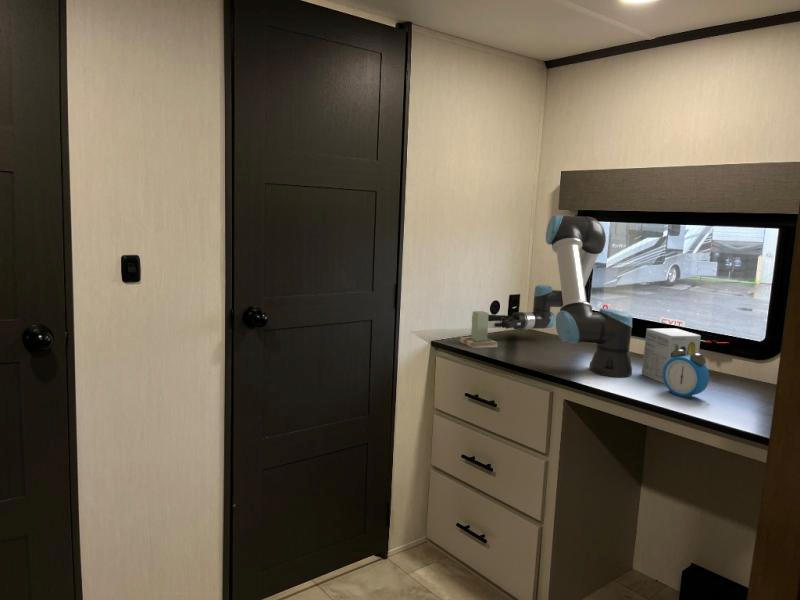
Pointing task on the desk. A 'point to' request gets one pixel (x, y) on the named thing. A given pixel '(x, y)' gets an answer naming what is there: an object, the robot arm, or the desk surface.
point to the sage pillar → (479, 326)
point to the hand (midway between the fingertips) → (479, 321)
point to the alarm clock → (686, 373)
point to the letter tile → (478, 343)
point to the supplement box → (666, 349)
